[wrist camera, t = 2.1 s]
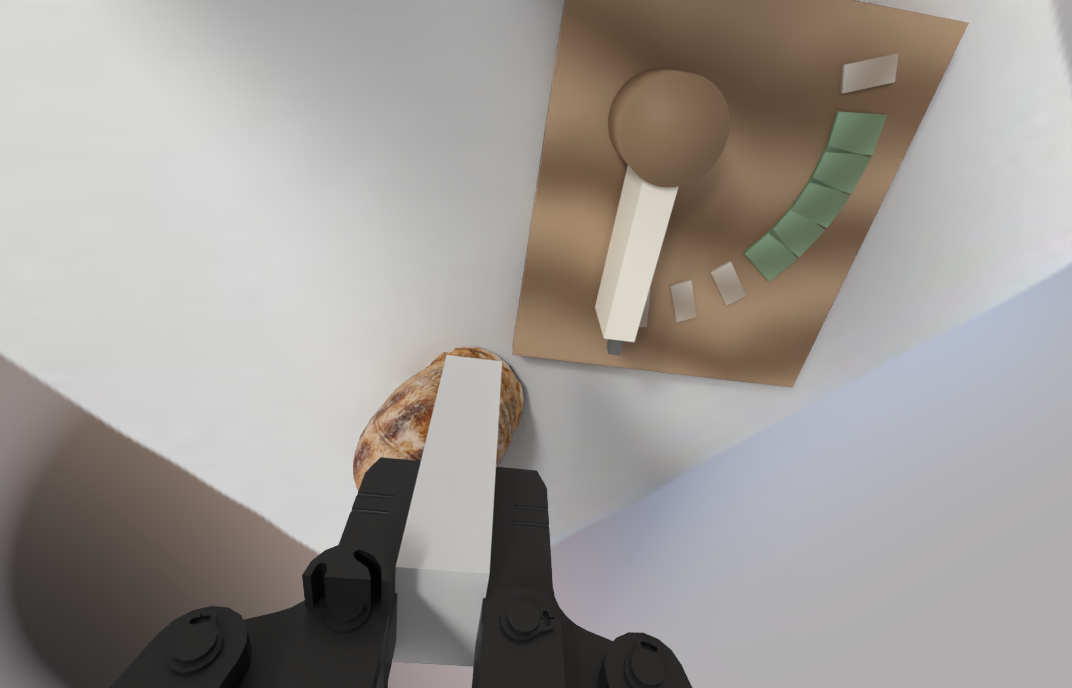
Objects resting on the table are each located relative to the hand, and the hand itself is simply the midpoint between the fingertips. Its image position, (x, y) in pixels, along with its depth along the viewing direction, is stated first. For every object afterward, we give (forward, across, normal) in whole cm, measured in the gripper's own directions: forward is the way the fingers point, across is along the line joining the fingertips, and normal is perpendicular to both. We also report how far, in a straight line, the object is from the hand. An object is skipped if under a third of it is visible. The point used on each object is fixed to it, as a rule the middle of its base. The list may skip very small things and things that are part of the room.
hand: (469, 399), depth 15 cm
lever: (+15, +7, +2) cm, 16 cm away
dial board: (+16, +11, +3) cm, 20 cm away
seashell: (+17, -2, -14) cm, 22 cm away
